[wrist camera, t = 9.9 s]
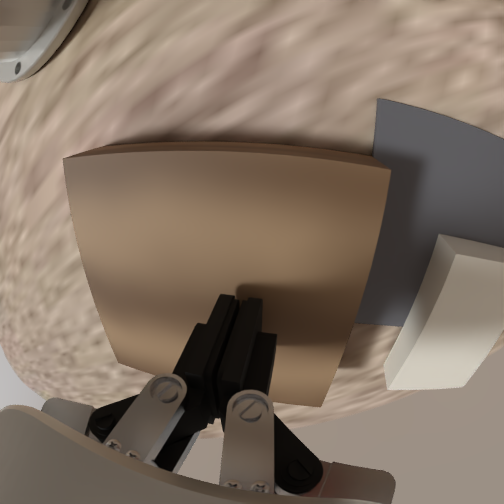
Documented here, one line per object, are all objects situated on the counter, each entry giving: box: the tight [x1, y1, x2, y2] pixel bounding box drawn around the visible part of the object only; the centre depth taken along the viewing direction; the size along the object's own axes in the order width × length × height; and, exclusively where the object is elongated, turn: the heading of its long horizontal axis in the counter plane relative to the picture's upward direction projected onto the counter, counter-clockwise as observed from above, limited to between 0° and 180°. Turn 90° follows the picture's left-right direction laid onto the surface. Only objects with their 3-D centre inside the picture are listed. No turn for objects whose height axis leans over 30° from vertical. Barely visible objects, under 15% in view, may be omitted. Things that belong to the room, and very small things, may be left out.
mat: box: [354, 98, 504, 327], centre depth 11 cm, size 11×10×1 cm
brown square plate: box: [63, 141, 391, 407], centre depth 13 cm, size 13×13×3 cm
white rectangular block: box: [383, 234, 504, 390], centre depth 12 cm, size 9×6×2 cm, turn 177°
